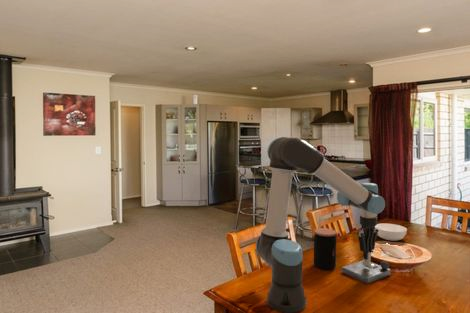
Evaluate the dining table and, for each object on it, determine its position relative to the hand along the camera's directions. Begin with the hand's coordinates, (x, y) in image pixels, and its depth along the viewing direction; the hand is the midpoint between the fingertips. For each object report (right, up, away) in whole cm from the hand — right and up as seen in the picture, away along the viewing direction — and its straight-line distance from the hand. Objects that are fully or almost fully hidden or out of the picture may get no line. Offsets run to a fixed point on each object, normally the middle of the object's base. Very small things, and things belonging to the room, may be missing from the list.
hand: (366, 265), depth 154 cm
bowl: (+35, -1, +51) cm, 62 cm away
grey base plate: (0, -4, 0) cm, 4 cm away
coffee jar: (-18, -4, +8) cm, 20 cm away
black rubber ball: (+8, 0, -1) cm, 8 cm away
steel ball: (+3, -2, +2) cm, 5 cm away
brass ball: (+3, +1, +8) cm, 8 cm away
